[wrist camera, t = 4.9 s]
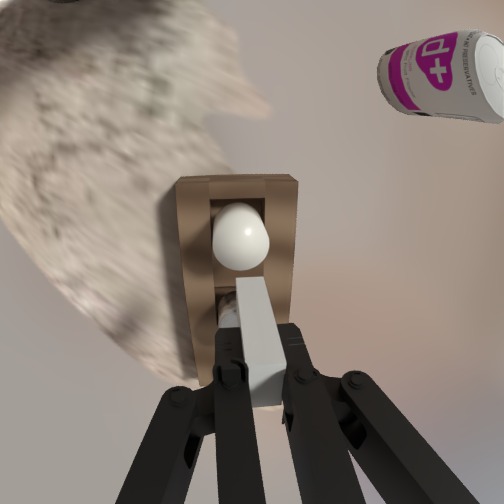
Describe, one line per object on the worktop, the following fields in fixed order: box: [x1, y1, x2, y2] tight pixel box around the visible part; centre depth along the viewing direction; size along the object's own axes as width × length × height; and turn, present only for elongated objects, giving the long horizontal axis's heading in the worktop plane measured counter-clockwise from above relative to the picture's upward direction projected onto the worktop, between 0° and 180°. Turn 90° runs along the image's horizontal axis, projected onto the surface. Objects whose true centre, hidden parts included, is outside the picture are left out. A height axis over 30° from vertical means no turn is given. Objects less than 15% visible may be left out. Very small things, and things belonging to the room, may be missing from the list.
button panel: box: [175, 174, 298, 386], centre depth 33 cm, size 26×11×4 cm, turn 0°
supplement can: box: [377, 28, 504, 124], centre depth 19 cm, size 8×8×15 cm
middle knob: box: [218, 290, 238, 328], centre depth 29 cm, size 4×4×4 cm
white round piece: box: [213, 203, 269, 271], centre depth 25 cm, size 4×4×4 cm
